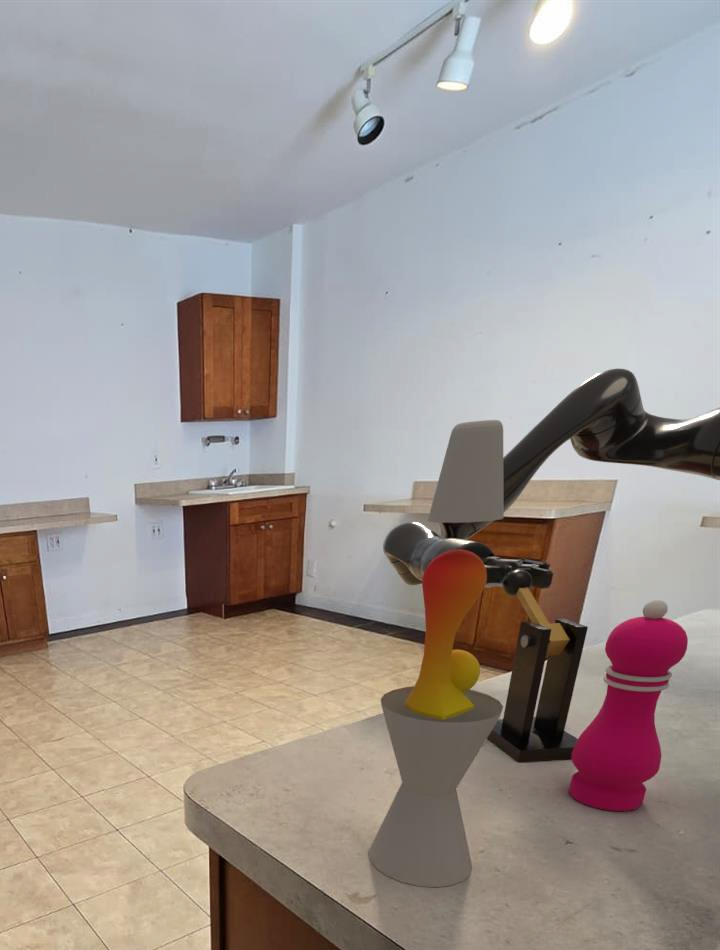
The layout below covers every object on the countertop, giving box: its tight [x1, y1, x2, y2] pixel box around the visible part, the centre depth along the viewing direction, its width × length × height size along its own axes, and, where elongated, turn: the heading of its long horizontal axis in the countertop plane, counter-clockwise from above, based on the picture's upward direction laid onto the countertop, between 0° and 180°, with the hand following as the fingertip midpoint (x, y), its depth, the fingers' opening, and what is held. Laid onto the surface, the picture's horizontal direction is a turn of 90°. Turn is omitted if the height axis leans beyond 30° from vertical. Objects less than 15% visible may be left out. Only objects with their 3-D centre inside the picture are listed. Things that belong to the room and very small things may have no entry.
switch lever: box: [502, 570, 570, 657], centre depth 76 cm, size 13×3×3 cm, turn 1°
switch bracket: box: [486, 618, 589, 763], centre depth 75 cm, size 10×8×15 cm
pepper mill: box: [568, 599, 689, 812], centre depth 61 cm, size 7×7×20 cm
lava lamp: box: [367, 419, 505, 888], centre depth 50 cm, size 9×9×35 cm
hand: (513, 582), depth 80 cm, fingers open, 8 cm apart
